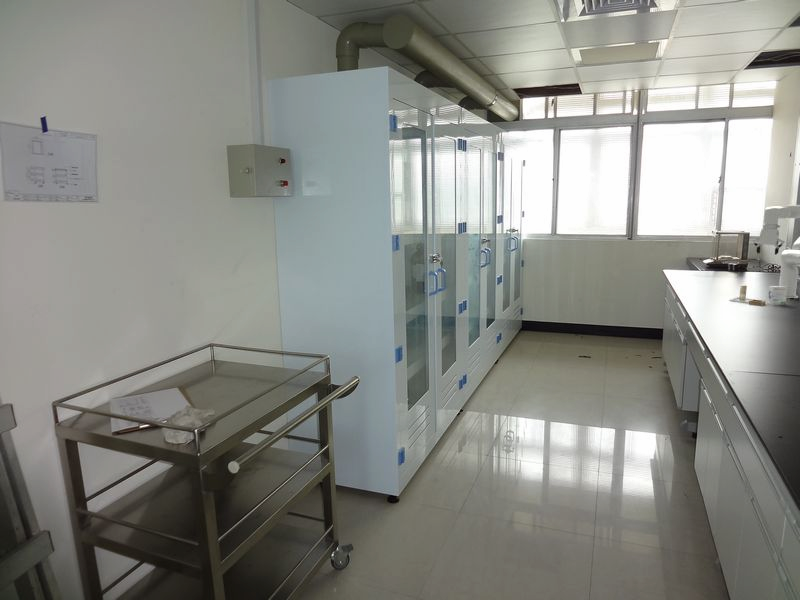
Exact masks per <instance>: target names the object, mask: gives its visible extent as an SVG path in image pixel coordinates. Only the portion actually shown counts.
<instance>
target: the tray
mask: <svg viewBox="0 0 800 600" xmlns="http://www.w3.org/2000/svg"><path fill="white" fill-rule="evenodd" d="M739 297H740V296H739ZM739 297H738V296H736V297H733V298H730V299H729V302H735V303H743V304H749V301H750V300H752V299H754V300H756V298H747V297H746V300H745V301H740V300H739Z"/></svg>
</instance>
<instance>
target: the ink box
mask: <svg viewBox="0 0 800 600" xmlns="http://www.w3.org/2000/svg"><path fill="white" fill-rule="evenodd" d="M787 288H788V287H784V286H779V285H769V286H768V295H767V301H766V303H767V305H768V304H769V305H770V306H786V305H787V304H786V303H787V298H786V297H787Z"/></svg>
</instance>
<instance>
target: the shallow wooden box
mask: <svg viewBox="0 0 800 600" xmlns="http://www.w3.org/2000/svg"><path fill="white" fill-rule="evenodd" d="M751 299H752V300H750V301H749V303H748V305H751V306H760V307H762V306H764V305H766V303H767V301H766V300H763V299H761V300H760V299H755V298H751ZM754 299H755V300H754Z"/></svg>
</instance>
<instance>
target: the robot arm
mask: <svg viewBox="0 0 800 600" xmlns="http://www.w3.org/2000/svg"><path fill="white" fill-rule="evenodd" d="M785 219H800V204H796V205H795V204H792V205H791V204H790V205H781V206H769V207H766V208H765V209H764V215H763V224H762V229H761V231H760V233H759V237H758V238H755V239H753V240H752V242H753V246H755V247H756V253H757V255H758V254H761V246H762V245H765V246H774V247H775V249H774V255H778V254H779V251H780V250H779V249H780V248H781V247H782V246H784V244H785V242H786V241H784V240H783V239H781V238H780V231H779V229H778V228H781V225H779V223H778V222H779V220H785ZM757 241H758V242H757ZM798 266H800V236H799V237H798V238H797V239H796V240H795V241H794V242H793V244H792V246H791V249H785V250H783V251H782V252H781V253H780V274H779V283H778V284H779V285H778V286H784V287H788V288H787V297H786V299H790V298H794V299H798V298H799V296H798V295H796V292H797V287H798V286H797V285H798V278H799V269H798Z"/></svg>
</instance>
